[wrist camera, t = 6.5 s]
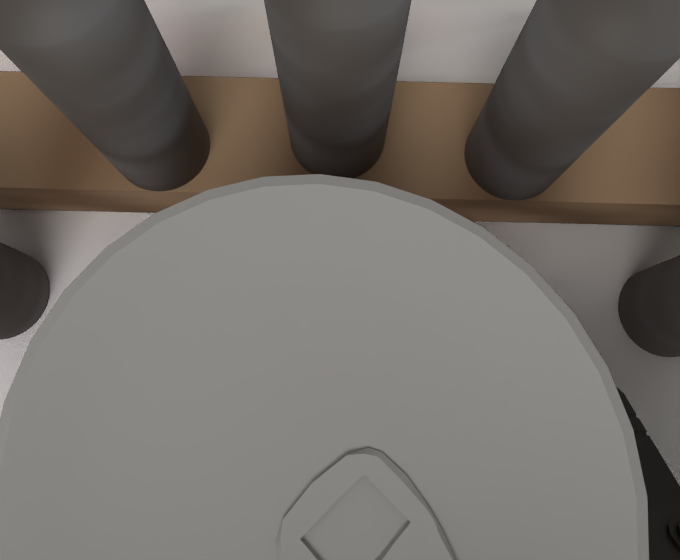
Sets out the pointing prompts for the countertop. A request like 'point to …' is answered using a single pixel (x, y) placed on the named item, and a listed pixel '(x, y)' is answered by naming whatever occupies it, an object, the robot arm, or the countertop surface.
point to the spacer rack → (348, 124)
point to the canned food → (315, 394)
